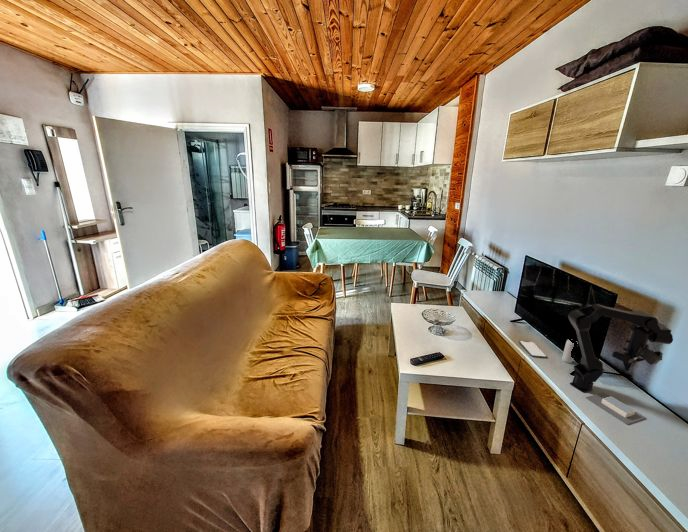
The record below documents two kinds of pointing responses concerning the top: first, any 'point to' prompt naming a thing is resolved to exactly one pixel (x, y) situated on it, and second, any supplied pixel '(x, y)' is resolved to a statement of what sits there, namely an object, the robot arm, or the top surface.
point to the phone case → (532, 349)
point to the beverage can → (568, 352)
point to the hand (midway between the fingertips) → (627, 370)
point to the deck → (618, 406)
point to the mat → (628, 420)
